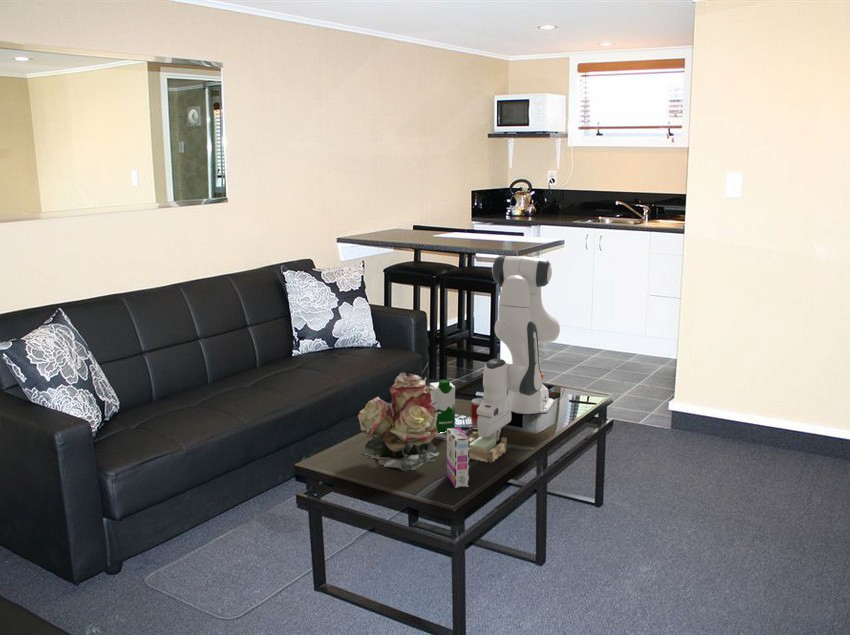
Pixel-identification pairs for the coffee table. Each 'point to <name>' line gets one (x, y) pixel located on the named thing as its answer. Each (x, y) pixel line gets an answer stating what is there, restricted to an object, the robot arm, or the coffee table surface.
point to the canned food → (475, 410)
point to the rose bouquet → (402, 424)
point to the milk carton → (444, 404)
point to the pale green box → (484, 443)
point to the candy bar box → (458, 457)
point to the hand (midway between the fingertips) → (495, 441)
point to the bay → (487, 455)
